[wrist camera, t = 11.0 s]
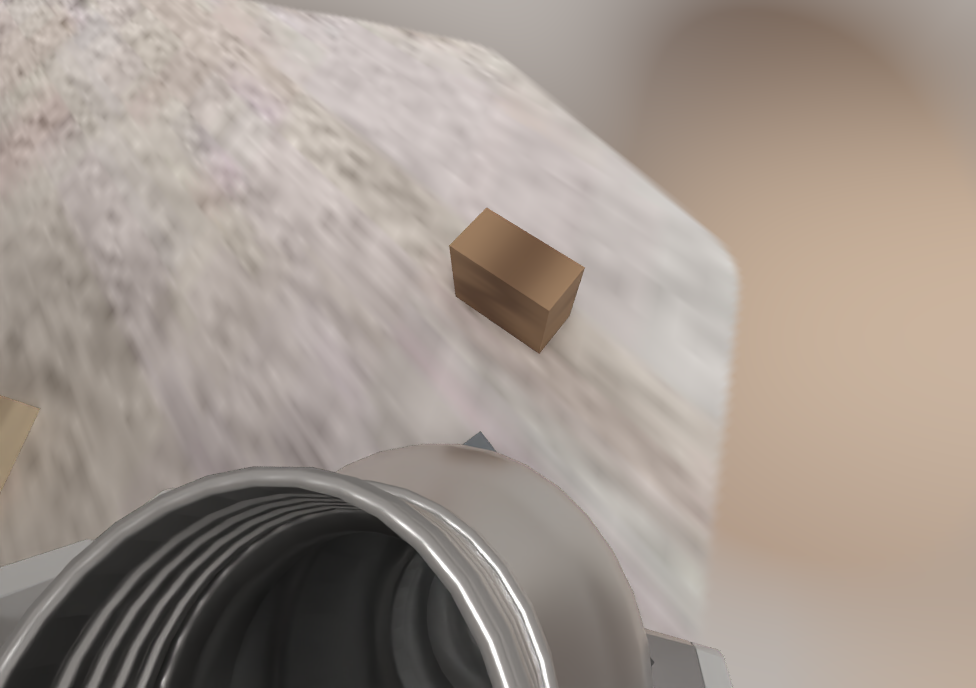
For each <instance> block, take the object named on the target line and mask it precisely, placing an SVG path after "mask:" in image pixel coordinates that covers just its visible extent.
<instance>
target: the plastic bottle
mask: <svg viewBox="0 0 976 688" xmlns="http://www.w3.org/2000/svg"><path fill="white" fill-rule="evenodd" d="M0 688H654V685H653V677H652V669H651V661H650V653H649V645H648V640H647V636H646V633H645V629H644V626H643V623H642V619H641V616H640V613H639V609H638V606H637V603H636V599H635V596H634V593H633V591H632V589H631V587H630V585H629V582H628V580H627V578H626V576H625V574H624V572H623V570H622V568H621V566H620V564H619V562H618V560H617V558H616V556H615V554H614V552H613V550H612V549H611V547H610V546H609V544H608V543H607V542H606V540H605V539H604V537H603V536H602V535H601V533H600V532H599V530H598V529H597V528H596V526H595V525H594V523H593V522H592V521H591V519H590V518H589V516H588V515H587V514H586V513H585V512H584V511H583V510H582V509H581V508H580V507H579V506H578V505H577V504H576V503H575V502H574V501H573V500H572V499H571V498H570V497H569V496H568V495H567V494H566V493H564V492H563V491H562V490H561V489H560V488H559V487H558V486H557V485H555V484H554V483H552V482H551V481H549V480H548V479H546V478H545V477H544V476H542V475H541V474H539V473H538V472H536V471H535V470H533V469H532V468H530V467H529V466H527V465H525V464H523V463H520V462H518V461H516V460H513V459H511V458H509V457H506V456H504V455H502V454H499V453H497V452H495V451H491V450H486V449H481V448H476V447H471V446H467V445H462V444H421V445H412V446H407V447H402V448H397V449H392V450H386V451H381V452H378V453H375V454H373V455H370V456H368V457H366V458H363V459H361V460H358V461H356V462H353V463H351V464H348V465H346V466H345V467H343V468H342V469H340V470H338V471H337V472H331V471H327V470H323V469H318V468H314V467H249V468H244V469H239V470H234V471H228V472H223V473H218V474H213V475H208V476H205V477H203V478H200V479H198V480H195V481H193V482H190V483H188V484H185V485H183V486H180V487H178V488H175V489H173V490H171V491H168V492H166V493H163V494H161V495H159V496H157V497H156V498H154V499H153V500H151V501H149V502H148V503H146V504H144V505H143V506H141V507H140V508H138V509H136V510H135V511H133V512H132V513H130V514H128V515H127V516H125V517H123V518H122V519H120V520H119V521H117V522H115V523H114V524H113V525H112V526H111V527H109V528H108V529H107V530H106V531H105V532H104V533H102V534H101V535H100V536H99V537H98V538H97V539H95V540H94V541H93V542H92V543H91V544H89V545H88V546H87V547H86V548H85V549H84V550H82V551H81V552H80V553H79V554H78V555H77V556H75V557H74V558H73V559H72V560H71V561H70V562H69V563H68V564H67V565H66V566H65V567H64V569H63V570H62V571H61V572H60V573H59V574H58V575H57V576H56V578H55V579H54V580H53V581H52V582H51V583H50V584H49V585H48V586H47V588H46V589H45V590H44V591H43V592H42V593H41V594H40V595H39V597H38V598H37V599H36V600H35V601H34V602H33V603H32V604H31V606H30V607H29V608H28V609H27V611H26V612H25V614H24V615H23V616H22V618H21V619H20V621H19V622H18V624H17V625H16V627H15V628H14V630H13V631H12V632H11V634H10V635H9V637H8V638H7V640H6V641H5V643H4V644H3V645H2V647H1V648H0Z"/></svg>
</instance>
